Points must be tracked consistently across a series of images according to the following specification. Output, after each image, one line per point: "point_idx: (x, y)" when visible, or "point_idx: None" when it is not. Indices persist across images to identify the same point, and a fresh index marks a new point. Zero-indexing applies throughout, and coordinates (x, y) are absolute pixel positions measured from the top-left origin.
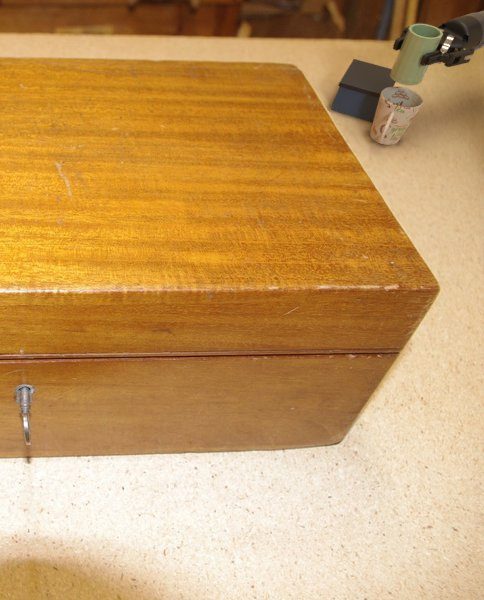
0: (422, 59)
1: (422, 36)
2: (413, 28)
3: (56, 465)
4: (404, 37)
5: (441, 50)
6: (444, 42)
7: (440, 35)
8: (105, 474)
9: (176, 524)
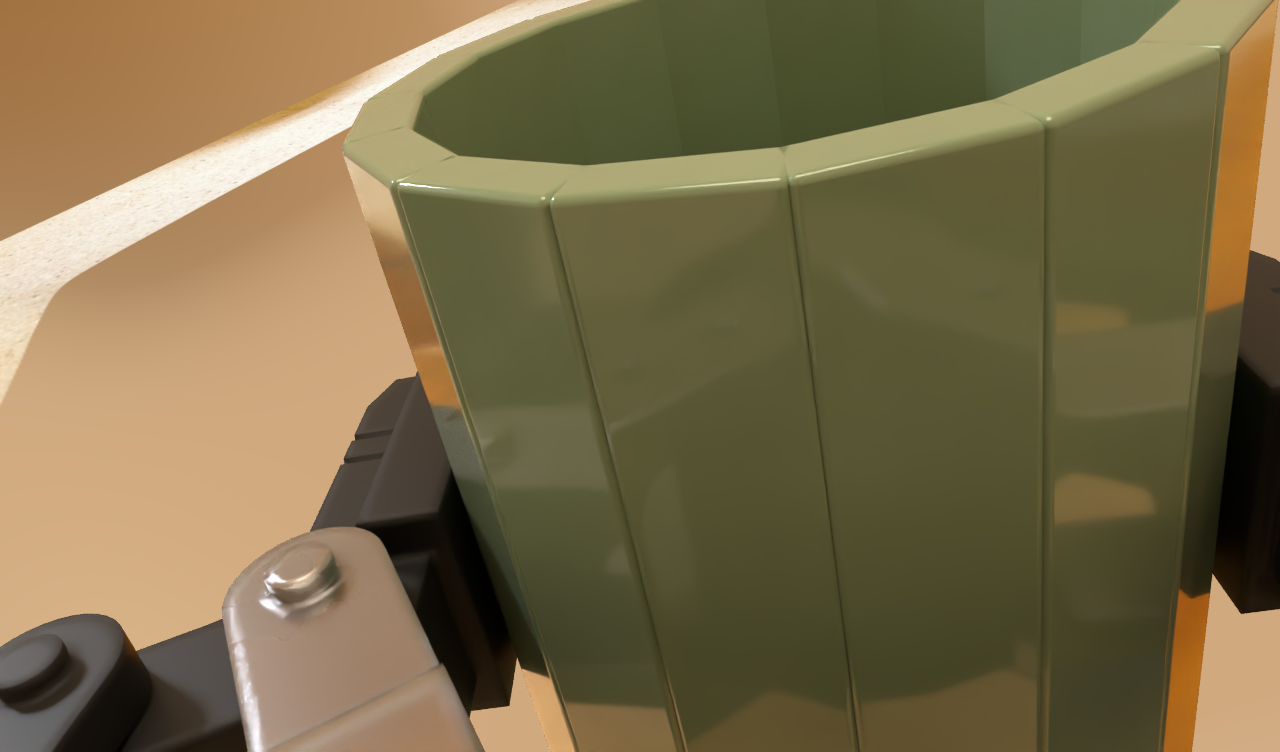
0: None
1: (614, 1)
2: (1123, 32)
3: None
4: None
5: (350, 555)
6: (464, 728)
7: (393, 133)
8: (319, 136)
9: (211, 167)
